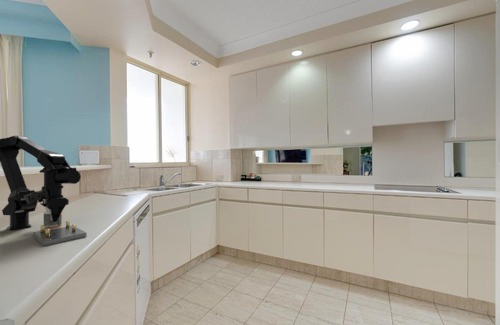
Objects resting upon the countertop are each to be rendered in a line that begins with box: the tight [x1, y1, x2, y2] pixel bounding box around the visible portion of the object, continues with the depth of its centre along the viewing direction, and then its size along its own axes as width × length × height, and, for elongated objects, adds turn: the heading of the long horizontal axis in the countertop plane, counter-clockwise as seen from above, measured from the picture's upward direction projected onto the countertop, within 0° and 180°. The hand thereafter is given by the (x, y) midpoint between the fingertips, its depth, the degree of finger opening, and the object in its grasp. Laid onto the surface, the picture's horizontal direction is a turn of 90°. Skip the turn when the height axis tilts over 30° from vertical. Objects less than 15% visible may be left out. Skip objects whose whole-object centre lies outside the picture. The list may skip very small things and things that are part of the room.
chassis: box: [32, 220, 87, 247], centre depth 83 cm, size 16×12×4 cm
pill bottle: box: [43, 206, 63, 230], centre depth 93 cm, size 6×6×10 cm
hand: (52, 220), depth 93 cm, fingers closed on pill bottle, 6 cm apart
